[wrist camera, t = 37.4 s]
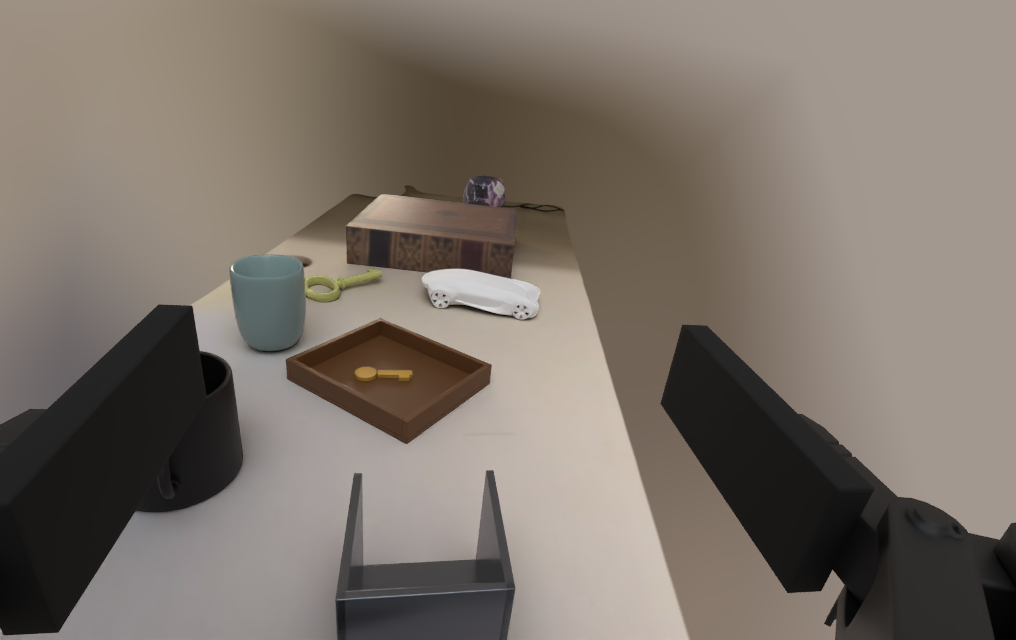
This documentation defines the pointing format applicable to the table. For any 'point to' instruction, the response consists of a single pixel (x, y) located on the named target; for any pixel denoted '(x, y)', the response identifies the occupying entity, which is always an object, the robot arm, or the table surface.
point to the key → (336, 284)
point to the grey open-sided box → (426, 586)
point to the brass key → (381, 374)
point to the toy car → (482, 292)
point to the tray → (388, 401)
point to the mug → (202, 447)
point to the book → (432, 236)
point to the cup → (269, 300)
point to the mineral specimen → (485, 191)
